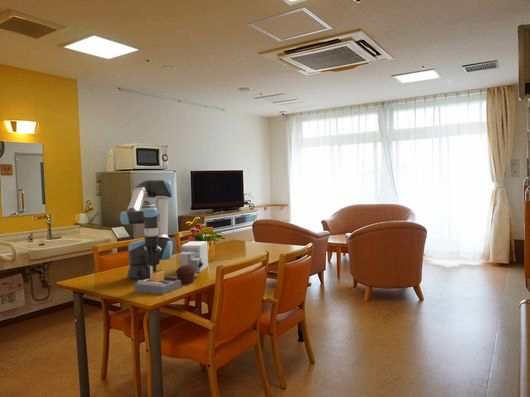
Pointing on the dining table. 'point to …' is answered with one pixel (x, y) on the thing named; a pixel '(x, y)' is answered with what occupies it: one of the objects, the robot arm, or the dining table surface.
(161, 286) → the breaker panel
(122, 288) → the dining table surface
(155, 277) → the breaker toggle
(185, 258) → the circuit breaker
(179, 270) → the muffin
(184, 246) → the supplement box
